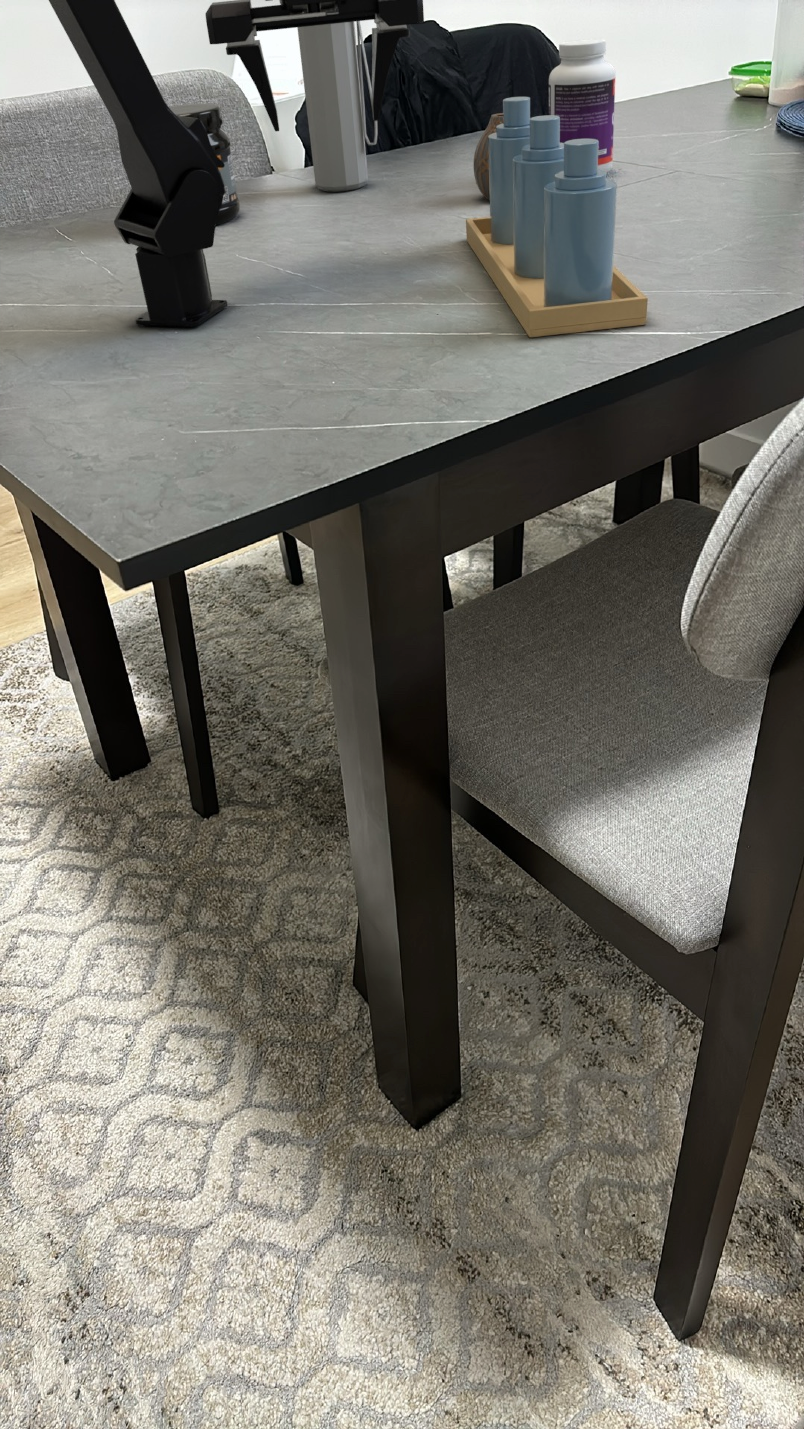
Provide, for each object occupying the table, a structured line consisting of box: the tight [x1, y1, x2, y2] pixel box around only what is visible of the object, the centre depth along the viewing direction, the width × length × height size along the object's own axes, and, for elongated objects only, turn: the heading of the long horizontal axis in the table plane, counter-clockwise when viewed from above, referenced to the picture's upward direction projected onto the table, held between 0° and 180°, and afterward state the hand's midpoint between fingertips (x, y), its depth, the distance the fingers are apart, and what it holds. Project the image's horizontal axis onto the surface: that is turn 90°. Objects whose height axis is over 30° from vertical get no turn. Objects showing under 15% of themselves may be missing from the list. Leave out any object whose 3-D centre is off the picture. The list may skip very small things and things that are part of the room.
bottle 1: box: [488, 96, 531, 245], centre depth 103 cm, size 6×6×12 cm
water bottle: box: [296, 12, 378, 193], centre depth 130 cm, size 9×8×25 cm
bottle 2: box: [543, 139, 618, 307], centre depth 82 cm, size 6×6×12 cm
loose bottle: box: [513, 114, 564, 278], centre depth 93 cm, size 6×6×12 cm
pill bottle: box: [548, 38, 616, 174], centre depth 128 cm, size 8×8×14 cm
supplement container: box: [168, 103, 241, 226], centre depth 125 cm, size 10×10×12 cm
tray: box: [465, 216, 649, 338], centre depth 96 cm, size 34×10×2 cm, turn 6°
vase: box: [473, 112, 503, 201], centre depth 123 cm, size 7×7×9 cm
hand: (326, 125), depth 96 cm, fingers open, 9 cm apart
